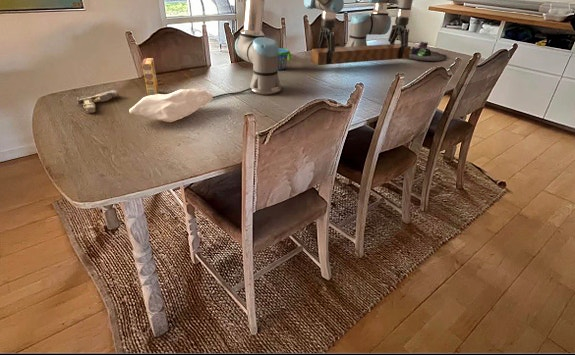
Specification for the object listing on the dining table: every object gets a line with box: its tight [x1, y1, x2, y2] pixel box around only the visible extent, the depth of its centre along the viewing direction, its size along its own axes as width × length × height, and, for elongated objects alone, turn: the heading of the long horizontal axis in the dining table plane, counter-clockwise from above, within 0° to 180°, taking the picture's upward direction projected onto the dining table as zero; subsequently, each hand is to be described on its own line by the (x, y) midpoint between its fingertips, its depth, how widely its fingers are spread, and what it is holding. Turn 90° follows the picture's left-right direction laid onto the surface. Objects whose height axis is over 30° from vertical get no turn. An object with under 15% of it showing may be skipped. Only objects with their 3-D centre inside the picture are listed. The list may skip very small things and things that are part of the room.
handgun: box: [76, 89, 120, 114], centre depth 155 cm, size 3×18×15 cm
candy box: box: [141, 57, 160, 96], centre depth 163 cm, size 9×4×15 cm, turn 13°
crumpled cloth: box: [129, 88, 214, 123], centre depth 147 cm, size 24×35×9 cm
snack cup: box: [278, 47, 292, 71], centre depth 207 cm, size 16×10×10 cm
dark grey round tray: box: [408, 41, 447, 62], centre depth 246 cm, size 35×35×9 cm
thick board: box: [310, 43, 412, 66], centre depth 215 cm, size 62×9×7 cm, turn 112°
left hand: (324, 61), depth 209 cm, fingers closed on thick board, 9 cm apart
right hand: (395, 56), depth 225 cm, fingers closed on thick board, 9 cm apart
